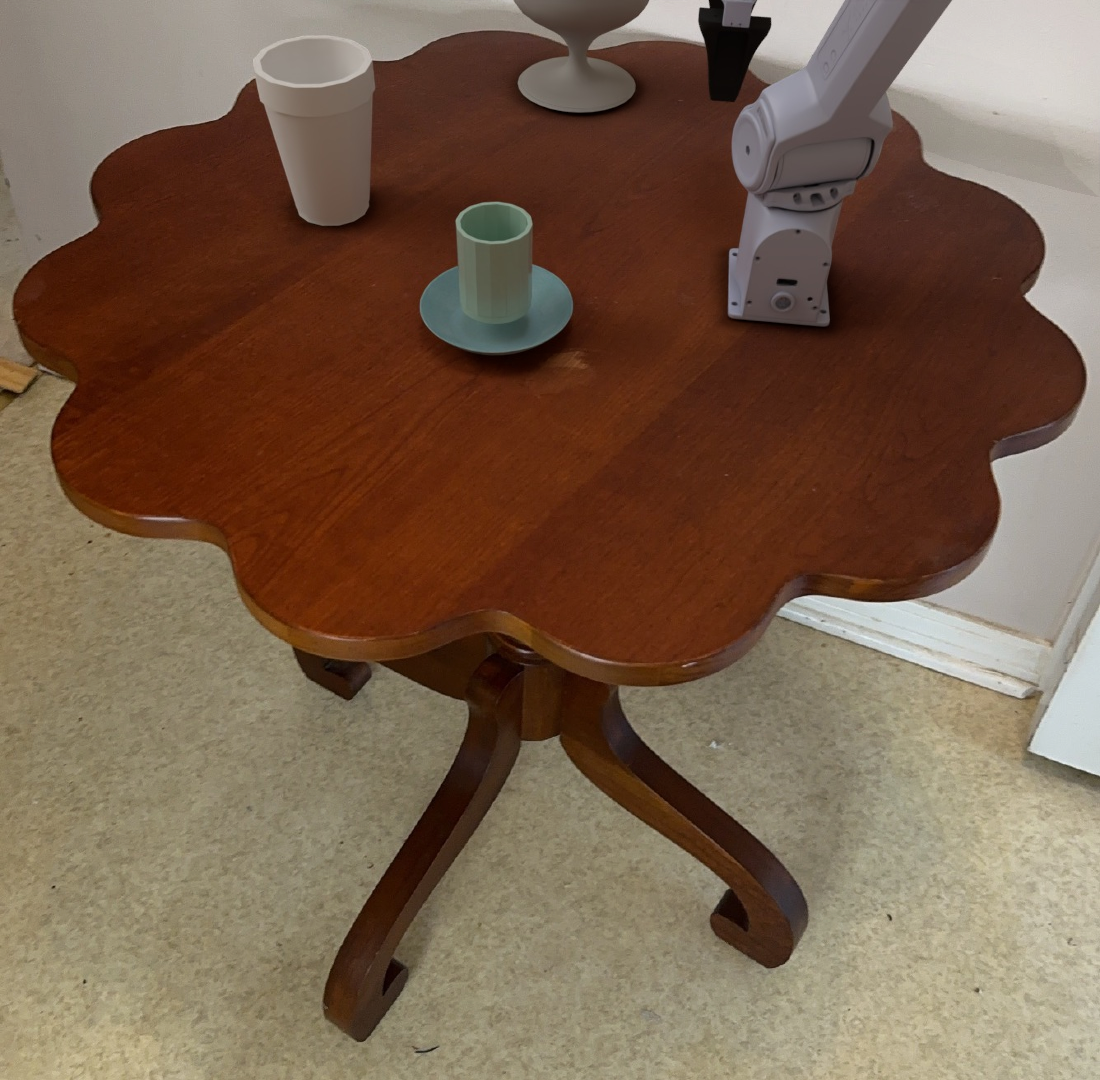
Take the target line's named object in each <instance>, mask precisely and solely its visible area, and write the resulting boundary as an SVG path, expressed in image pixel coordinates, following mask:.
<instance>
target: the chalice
mask: <svg viewBox="0 0 1100 1080" xmlns="http://www.w3.org/2000/svg"><path fill="white" fill-rule="evenodd" d="M513 2H514V4H515V5H516V6H517V8H518V9H519V10H520V11H521V13H522V14H523V15H524V16H526V17H527V18H528V19H530V20H531V21H532V22H533V23H535V24H537V25H539V26H541V27H544V29H547V30H548V31H551V32H553V33H555V34H556V35H558V36H560V38H561V39H563V41H564V43H565V44H566V46H567V50H568V56H558V57H552V58H551V57H550V58H548V59H544V60H541V61H538V62H536V63H534V64H532V65H530V66H529V67H527V68H526V69H525V70H524V71H522V73H521V74H520V75H519V77H518V80H517V85H518V90H519V91H520V93H521V94H522V95H523V97H525V98H526V99H528V100H529V101H530V102H532V103H535V104H537V105H539V106H541V107H545V108H547V109H550V110H554V111H555V110H556V111H561V112H566V113H567V112H568V113H595V112H601V111H606V110H609V109H612V108H616V107H618V106H620V105H622V104H625V103H626V102H628V101H629V99H631V98H632V97H633V95H634V93H635V92H636V82H635V80H634V77H632V75H631V74H630V73H629V72H628V71H626V70H625V69H624V68H623V67H621V66H619V65H617V64H616V63H613V62H610V61H607V60H603V59H600V58H594V57H590V56H588V51H589V49H590V46H591V45H592V44H593V42H594V41H596V39H598V38H599V37H600V36H602V35H605V34H607V33H610V32H612V31H615V30H617V29H620V28H623V27H624V26H626V25H627V24H629V23H631V22H632V21H633V20H635V19H636V18H638V17H639V16H640V15H641V14H642V12H643V11H644V10H645V9H646V7H647V5H648V4H649V2H650V0H513Z"/></svg>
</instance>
